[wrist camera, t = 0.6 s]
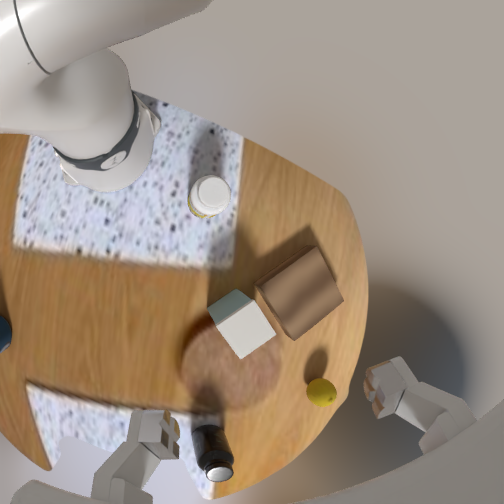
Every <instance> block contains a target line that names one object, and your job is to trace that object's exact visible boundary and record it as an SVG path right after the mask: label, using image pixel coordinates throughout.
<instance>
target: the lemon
mask: <svg viewBox="0 0 504 504" xmlns="http://www.w3.org/2000/svg"><path fill="white" fill-rule="evenodd" d="M306 392H307V396H308V398H309V400H310V401H311V402H312V403H313V404H315V405H317V406H320V407H325V406H329V405H330V404H332V403H333V402H334V401H335V399H336V395H337V392H336V389H335V387H334V385H333V384H332V383H331V382H330V381H328V380H326V379H323V378H318V379H314V380H313V381H311V382H310V383H309V385H308V386H307V390H306Z"/></svg>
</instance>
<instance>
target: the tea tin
mask: <svg viewBox="0 0 504 504" xmlns="http://www.w3.org/2000/svg"><path fill="white" fill-rule="evenodd" d="M207 309H208V311H209V313H210V315H211V317H212V318H213V320H214V322H215V325H216V327H217V328H218V330H219V331H220V332H221V334H222V335H223V337H224V338H225V339H226V341H227V342H228V343H229V345H230V346H231V347H232V349H233V350H234V351H235V353H236V354H237V355H238V357H239V358H240V359H242V358H243V357H245V356H246V355H248V354H249V353H251V352H252V351H254V350H255V349H256V348H258V347H259V346H261V345H262V344H264V343H265V342H266V341H268V340H269V339H271V338H272V337H273V336H275V335H276V333H275V332H274V330H273V329H272V327H271V325H270V324H269V322H268V321H267V319H266V318H265V316H264V315H263V313H262V311H261V310H260V308H259V307H258V305H257V304H256V302H255V301H254V300H253V299H250V298H249V297H247V296H246V295H245V294H243V293H242V292H241V291H239V290H238V289H237V288H236V289H234V290H233V291H231V292H230V293H228V294H227V295H225V296H224V297H222V298H221V299H219V300H218V301H216V302H215V303H213V304H212V305H210V306H209V307H207Z"/></svg>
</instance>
